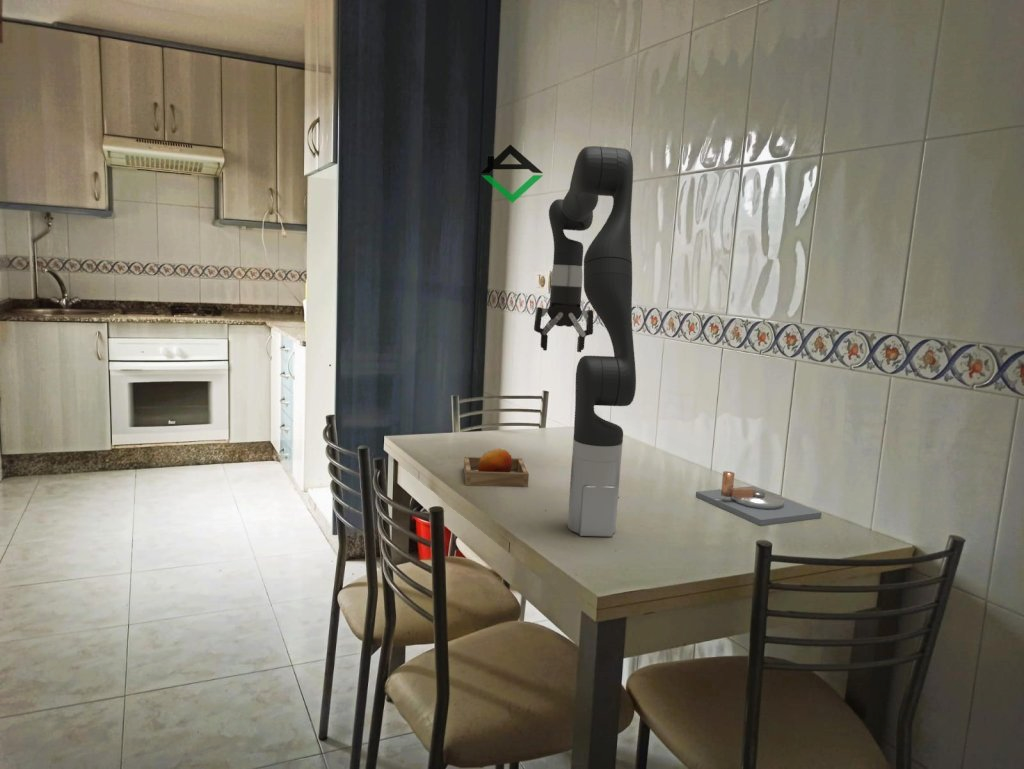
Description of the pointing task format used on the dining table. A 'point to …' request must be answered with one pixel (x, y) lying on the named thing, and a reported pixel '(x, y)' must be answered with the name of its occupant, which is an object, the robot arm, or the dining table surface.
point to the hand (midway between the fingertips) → (562, 351)
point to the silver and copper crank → (749, 495)
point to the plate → (760, 516)
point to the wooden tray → (495, 474)
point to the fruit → (495, 461)
